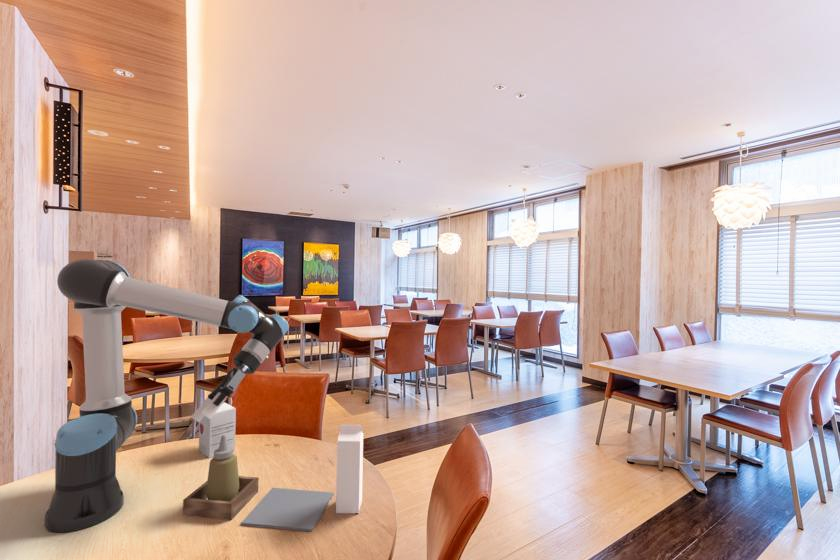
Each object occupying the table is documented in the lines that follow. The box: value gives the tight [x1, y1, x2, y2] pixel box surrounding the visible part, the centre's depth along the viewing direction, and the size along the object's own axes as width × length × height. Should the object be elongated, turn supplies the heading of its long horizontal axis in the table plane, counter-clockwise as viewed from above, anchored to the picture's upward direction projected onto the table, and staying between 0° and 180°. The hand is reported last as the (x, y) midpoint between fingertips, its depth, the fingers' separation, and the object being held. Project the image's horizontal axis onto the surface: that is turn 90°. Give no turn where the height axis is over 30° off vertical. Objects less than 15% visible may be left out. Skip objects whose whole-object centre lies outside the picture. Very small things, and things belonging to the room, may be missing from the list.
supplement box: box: [198, 401, 237, 459], centre depth 135 cm, size 9×9×15 cm
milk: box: [335, 423, 364, 514], centre depth 103 cm, size 6×6×22 cm
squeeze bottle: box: [206, 435, 240, 501], centre depth 104 cm, size 8×8×18 cm
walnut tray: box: [182, 475, 259, 521], centre depth 104 cm, size 13×13×4 cm
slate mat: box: [240, 487, 335, 532], centre depth 102 cm, size 18×16×1 cm
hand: (199, 418), depth 107 cm, fingers open, 13 cm apart
